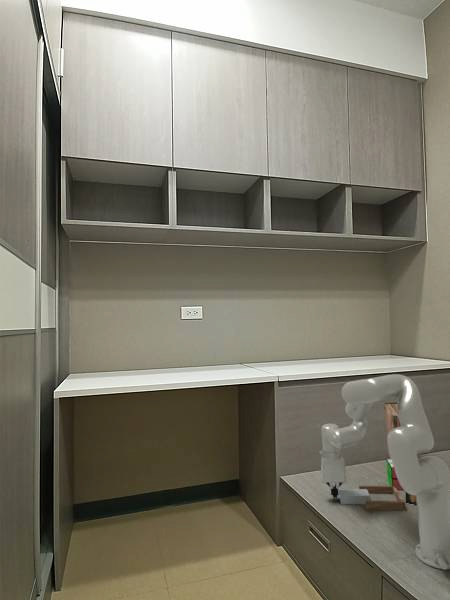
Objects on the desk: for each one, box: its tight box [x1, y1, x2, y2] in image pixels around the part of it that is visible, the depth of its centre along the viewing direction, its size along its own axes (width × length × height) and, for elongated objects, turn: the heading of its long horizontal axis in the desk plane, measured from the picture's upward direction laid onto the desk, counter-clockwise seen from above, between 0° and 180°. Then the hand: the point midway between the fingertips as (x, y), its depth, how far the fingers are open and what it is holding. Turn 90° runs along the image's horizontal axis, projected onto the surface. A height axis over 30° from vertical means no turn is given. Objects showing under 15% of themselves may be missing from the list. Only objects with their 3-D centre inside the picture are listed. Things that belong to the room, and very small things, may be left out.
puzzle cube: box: [385, 458, 405, 491], centre depth 172 cm, size 10×10×10 cm
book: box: [383, 402, 401, 459], centre depth 192 cm, size 25×9×30 cm, turn 165°
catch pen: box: [358, 485, 407, 511], centre depth 159 cm, size 15×15×3 cm
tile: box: [353, 488, 371, 505], centre depth 161 cm, size 6×6×4 cm
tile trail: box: [338, 488, 357, 505], centre depth 161 cm, size 6×6×4 cm
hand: (335, 496), depth 163 cm, fingers closed
